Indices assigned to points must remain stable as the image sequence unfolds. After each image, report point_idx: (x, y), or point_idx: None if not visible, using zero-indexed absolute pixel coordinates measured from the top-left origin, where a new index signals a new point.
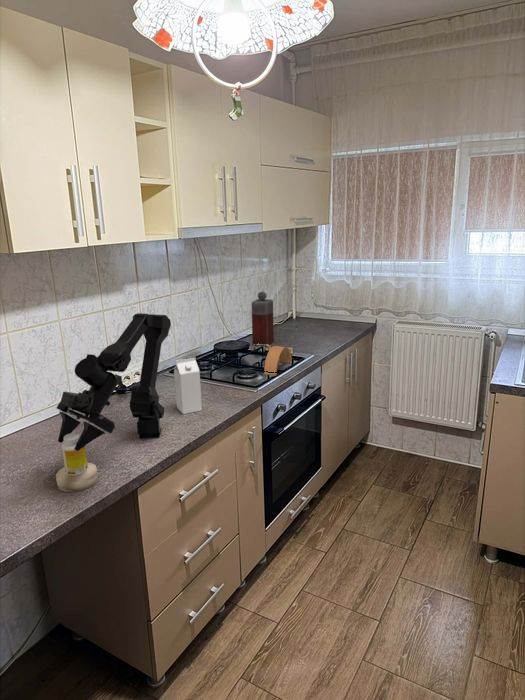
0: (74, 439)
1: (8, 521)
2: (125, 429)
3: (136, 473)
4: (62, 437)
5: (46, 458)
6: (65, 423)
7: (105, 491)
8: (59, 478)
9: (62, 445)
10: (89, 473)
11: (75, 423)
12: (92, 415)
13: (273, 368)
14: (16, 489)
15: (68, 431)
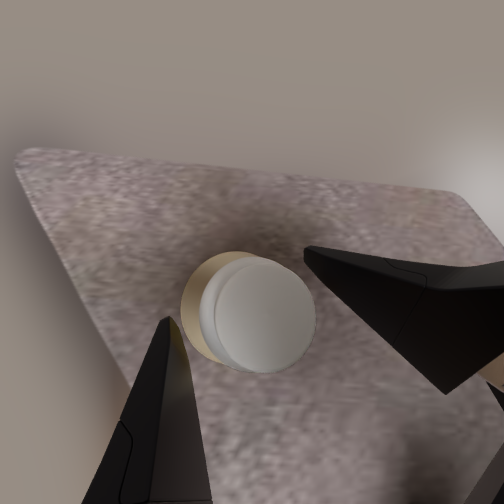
0: (216, 330)
1: (145, 162)
2: (467, 454)
3: None
4: (320, 265)
5: (365, 247)
6: (413, 286)
7: None
8: (221, 258)
9: (254, 260)
10: None
11: (428, 356)
12: None
13: None
14: (262, 187)
15: (359, 299)
